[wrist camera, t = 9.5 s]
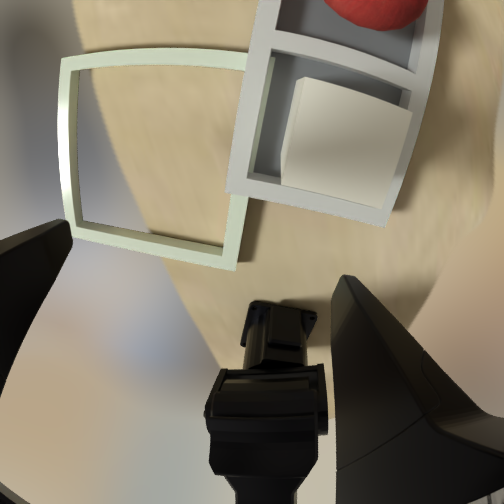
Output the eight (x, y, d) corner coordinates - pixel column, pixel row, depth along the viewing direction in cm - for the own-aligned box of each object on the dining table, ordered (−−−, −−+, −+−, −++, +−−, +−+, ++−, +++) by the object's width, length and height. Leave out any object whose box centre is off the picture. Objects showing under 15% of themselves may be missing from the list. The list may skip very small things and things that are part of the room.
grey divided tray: (374, 212, 20) (384, 227, 18) (230, 180, 20) (224, 192, 18) (429, -19, 9) (445, -27, 7) (280, -68, 9) (279, -83, 7)
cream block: (353, 171, 18) (381, 209, 13) (280, 154, 18) (281, 184, 12) (372, 102, 15) (412, 112, 10) (296, 80, 15) (305, 76, 10)
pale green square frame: (237, 262, 24) (235, 271, 23) (75, 229, 23) (68, 235, 22) (275, 59, 15) (275, 57, 14) (70, 57, 15) (61, 58, 14)
